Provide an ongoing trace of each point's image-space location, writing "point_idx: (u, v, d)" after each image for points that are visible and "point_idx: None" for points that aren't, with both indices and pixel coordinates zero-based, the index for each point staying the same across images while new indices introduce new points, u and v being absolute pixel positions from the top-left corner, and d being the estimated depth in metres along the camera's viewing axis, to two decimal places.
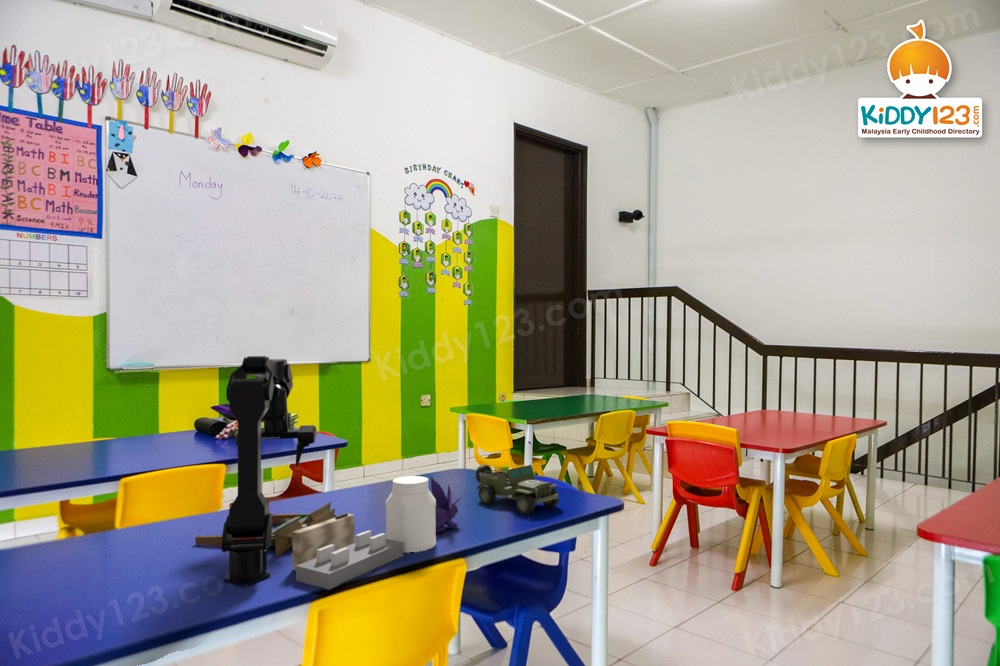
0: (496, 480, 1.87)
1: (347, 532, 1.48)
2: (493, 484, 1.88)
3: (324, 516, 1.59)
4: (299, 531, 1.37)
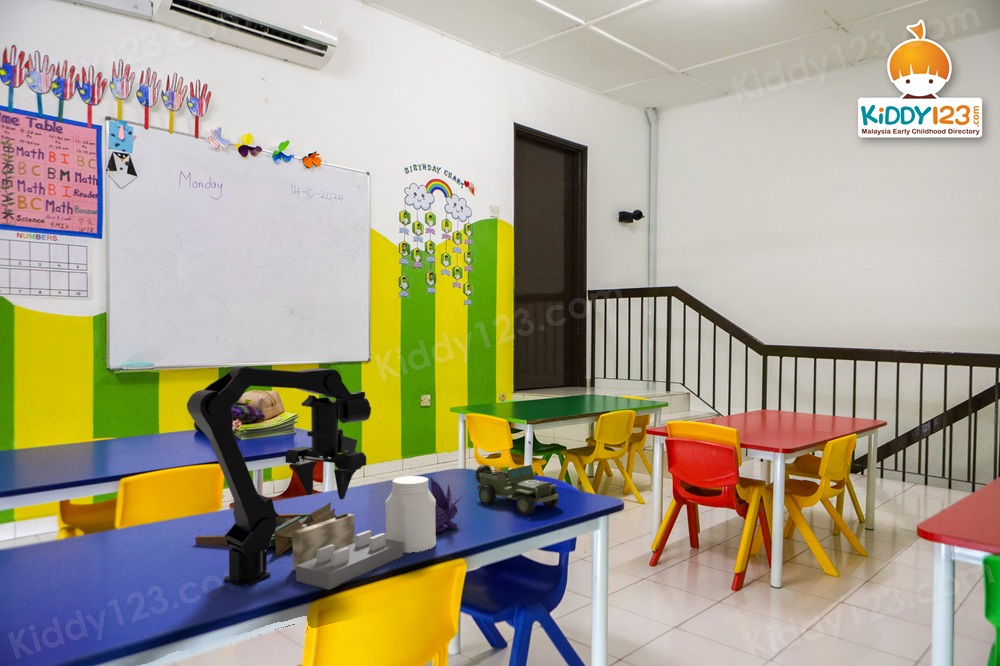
0: (496, 480, 1.87)
1: (347, 532, 1.48)
2: (493, 484, 1.88)
3: (324, 516, 1.59)
4: (299, 531, 1.37)
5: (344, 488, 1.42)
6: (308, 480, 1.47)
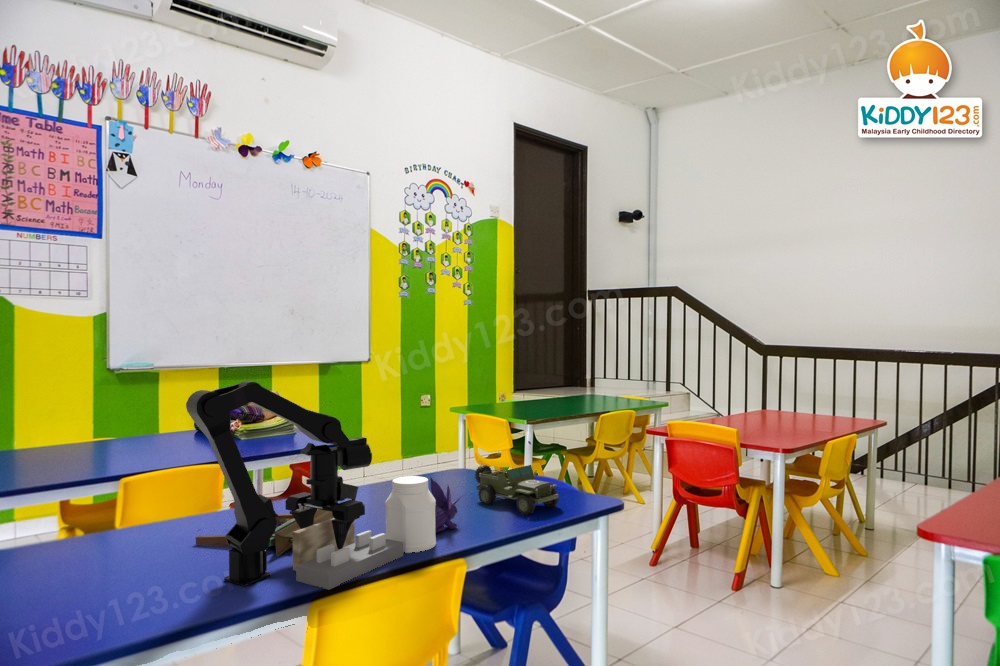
0: (496, 480, 1.87)
1: None
2: (493, 484, 1.88)
3: (324, 516, 1.59)
4: (299, 531, 1.37)
5: (342, 538, 1.40)
6: None
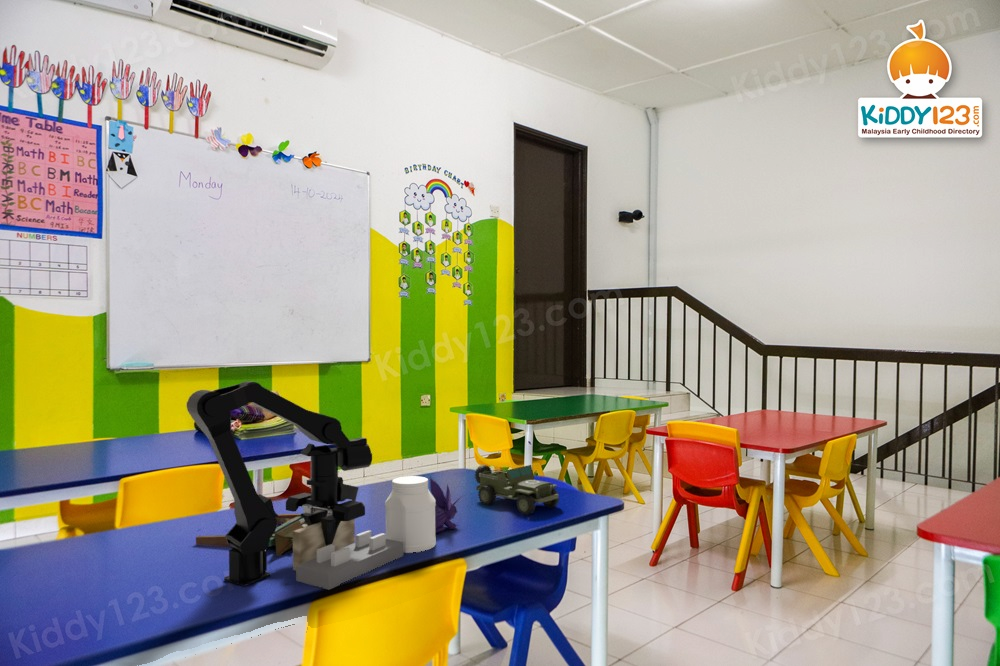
0: (496, 480, 1.87)
1: (347, 531, 1.48)
2: (493, 484, 1.88)
3: None
4: (299, 530, 1.37)
5: (331, 536, 1.42)
6: None
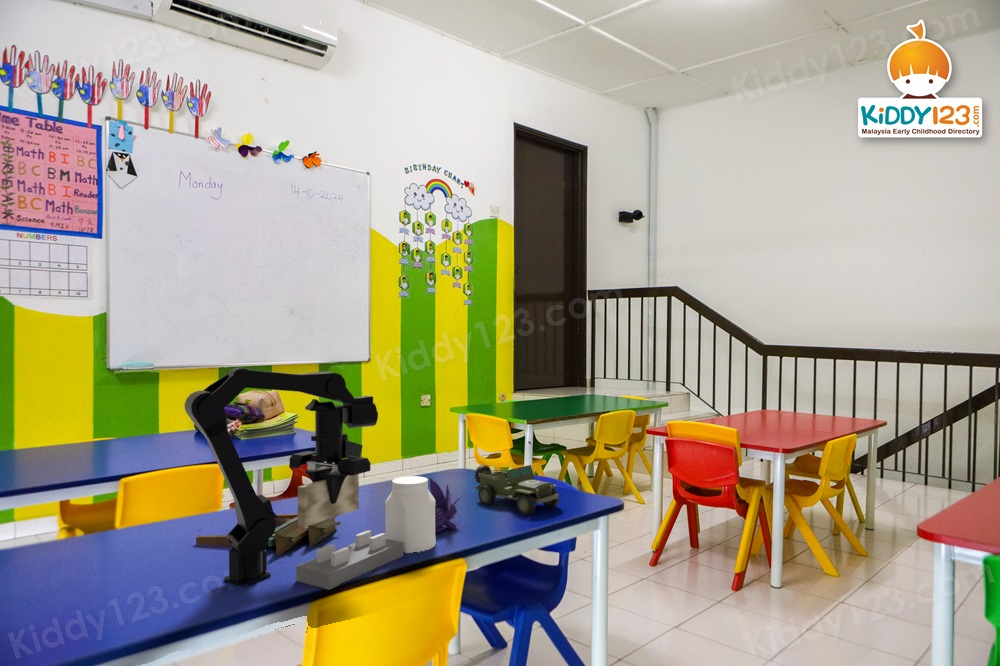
0: (496, 480, 1.87)
1: (351, 490, 1.47)
2: (493, 484, 1.88)
3: None
4: (304, 486, 1.36)
5: (336, 492, 1.41)
6: None
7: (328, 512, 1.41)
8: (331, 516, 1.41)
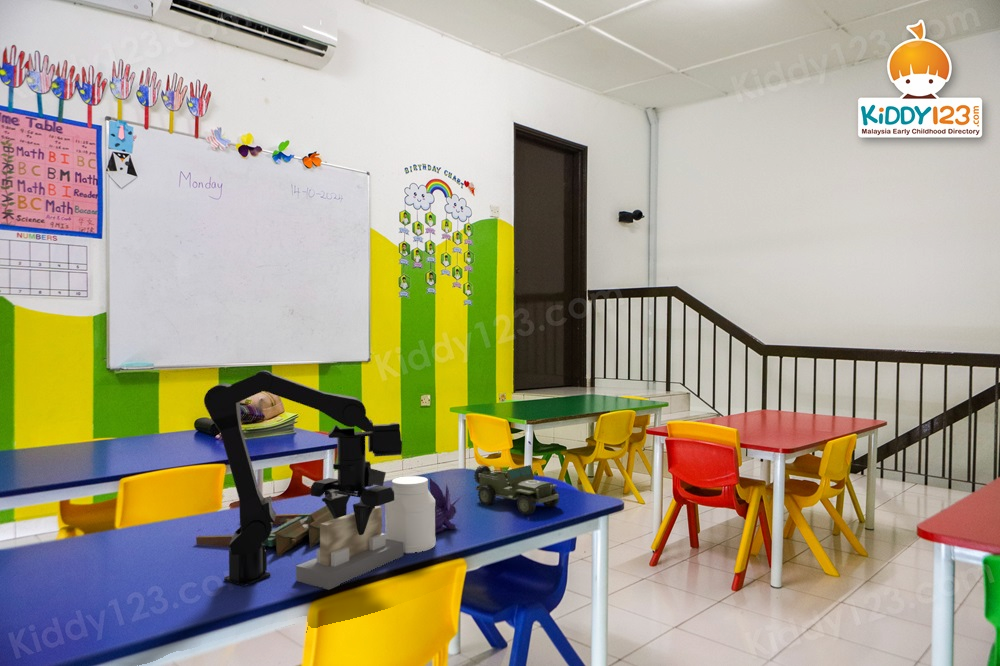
0: (496, 480, 1.87)
1: (374, 525, 1.42)
2: (493, 484, 1.88)
3: (325, 516, 1.59)
4: (327, 523, 1.32)
5: (363, 523, 1.36)
6: (341, 515, 1.39)
7: (351, 548, 1.36)
8: (354, 553, 1.37)
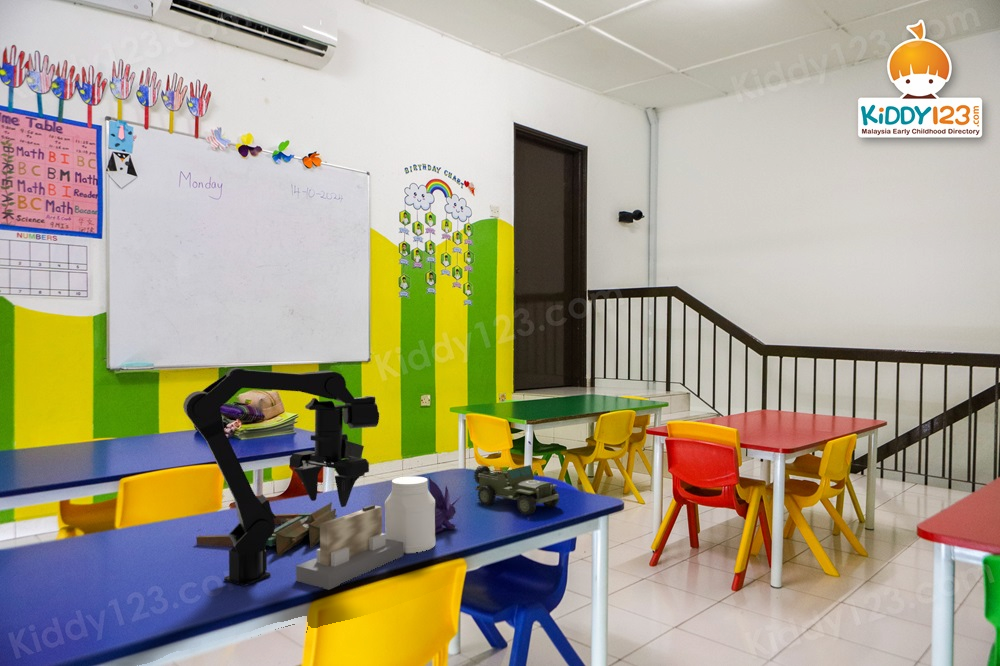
0: (496, 480, 1.87)
1: (374, 525, 1.42)
2: (493, 485, 1.88)
3: (325, 516, 1.59)
4: (327, 523, 1.32)
5: (346, 495, 1.37)
6: (312, 485, 1.43)
7: (351, 548, 1.36)
8: (354, 553, 1.37)
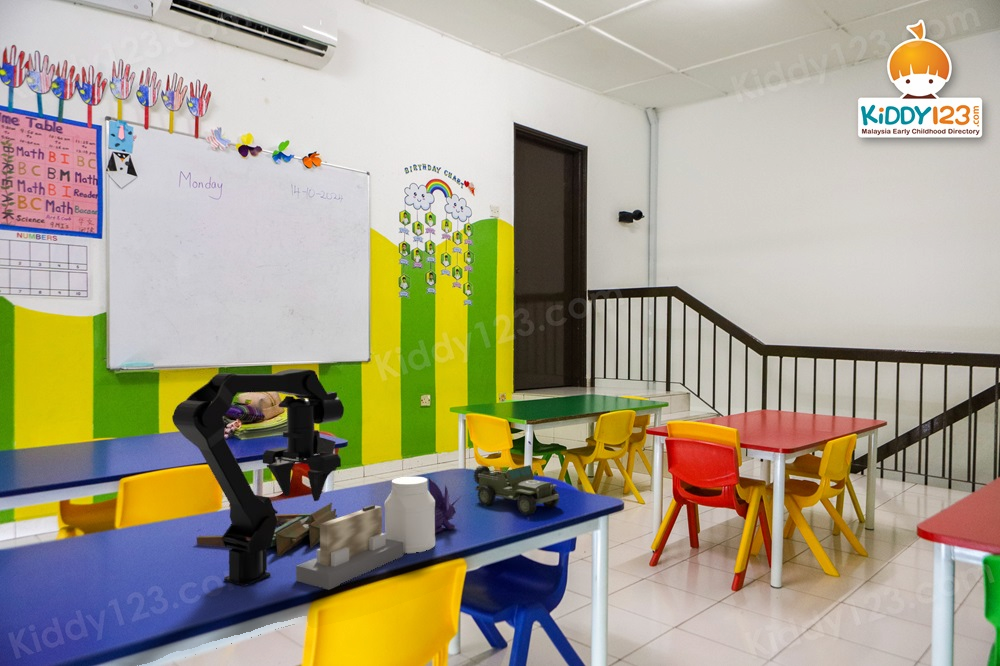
0: (496, 481, 1.87)
1: (374, 525, 1.42)
2: (492, 485, 1.88)
3: (325, 516, 1.59)
4: (327, 523, 1.32)
5: (318, 490, 1.41)
6: (285, 481, 1.46)
7: (351, 548, 1.36)
8: (354, 553, 1.37)
